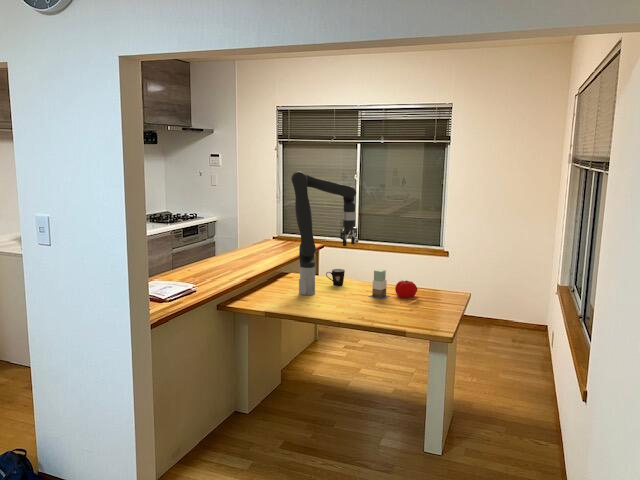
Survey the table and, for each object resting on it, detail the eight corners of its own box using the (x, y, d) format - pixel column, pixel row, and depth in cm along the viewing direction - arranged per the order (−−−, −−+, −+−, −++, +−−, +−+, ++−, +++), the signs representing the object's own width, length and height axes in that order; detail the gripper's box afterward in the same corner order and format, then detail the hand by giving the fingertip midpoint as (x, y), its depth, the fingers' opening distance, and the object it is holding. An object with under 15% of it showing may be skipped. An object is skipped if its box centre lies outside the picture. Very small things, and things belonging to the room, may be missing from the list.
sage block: (380, 281, 316) (381, 271, 315) (373, 280, 319) (374, 270, 318) (385, 280, 320) (385, 270, 319) (378, 278, 323) (378, 269, 322)
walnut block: (380, 298, 317) (380, 290, 316) (372, 296, 321) (372, 288, 320) (386, 296, 322) (386, 288, 321) (377, 294, 325) (378, 286, 325)
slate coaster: (381, 300, 314) (381, 299, 314) (367, 297, 321) (367, 296, 321) (390, 297, 322) (390, 296, 322) (376, 294, 328) (376, 293, 328)
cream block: (380, 290, 316) (381, 281, 315) (372, 288, 320) (372, 280, 319) (386, 288, 321) (386, 280, 320) (378, 286, 325) (378, 278, 324)
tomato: (391, 298, 320) (392, 281, 318) (398, 293, 331) (399, 277, 329) (413, 301, 314) (413, 284, 312) (419, 296, 325) (420, 279, 323)
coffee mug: (347, 284, 352) (347, 269, 351) (340, 287, 345) (340, 272, 344) (331, 282, 358) (332, 267, 357) (325, 284, 351) (325, 270, 350)
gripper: (347, 220, 317) (346, 247, 319) (361, 218, 328) (360, 244, 330) (337, 219, 321) (336, 246, 324) (351, 217, 332) (350, 243, 335)
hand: (348, 245), depth 327 cm, fingers open, 8 cm apart
